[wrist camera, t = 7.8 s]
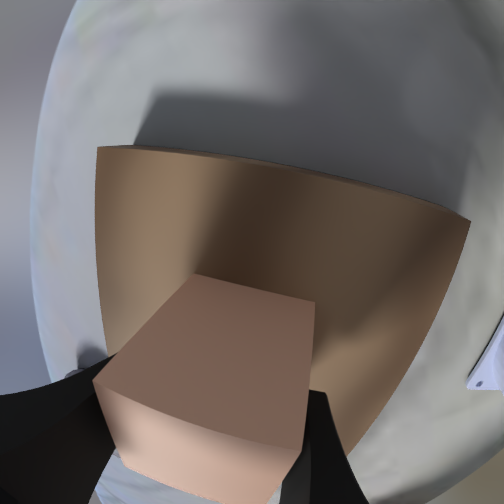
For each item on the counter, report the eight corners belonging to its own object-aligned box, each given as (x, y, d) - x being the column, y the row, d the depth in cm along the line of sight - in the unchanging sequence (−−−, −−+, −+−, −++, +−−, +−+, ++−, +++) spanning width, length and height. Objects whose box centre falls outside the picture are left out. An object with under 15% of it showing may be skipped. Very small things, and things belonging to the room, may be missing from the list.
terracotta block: (315, 302, 10) (301, 451, 4) (287, 388, 12) (260, 512, 6) (193, 273, 11) (92, 380, 5) (188, 362, 12) (124, 465, 7)
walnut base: (444, 207, 10) (471, 221, 8) (344, 428, 15) (344, 459, 13) (132, 144, 12) (97, 146, 10) (135, 371, 17) (116, 394, 15)
